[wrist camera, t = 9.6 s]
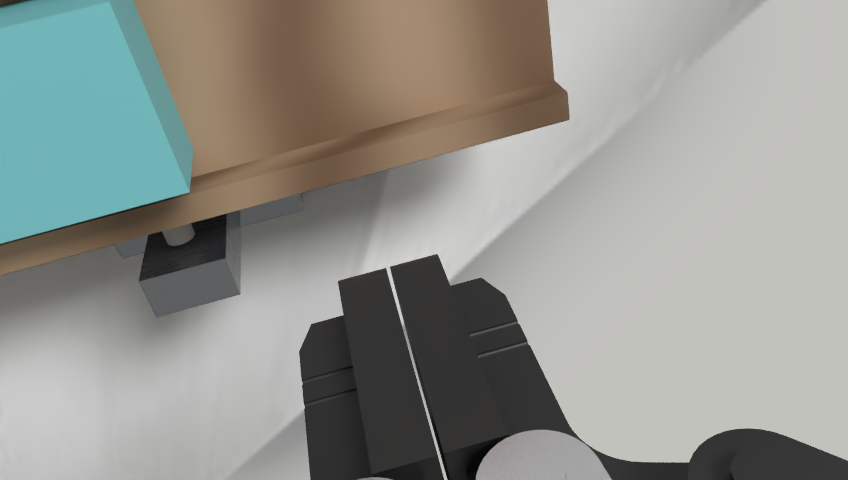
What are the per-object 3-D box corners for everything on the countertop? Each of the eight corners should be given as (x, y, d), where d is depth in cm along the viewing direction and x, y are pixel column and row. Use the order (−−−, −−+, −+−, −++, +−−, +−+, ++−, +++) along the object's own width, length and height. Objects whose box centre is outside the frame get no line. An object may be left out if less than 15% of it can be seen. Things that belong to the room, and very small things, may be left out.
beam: (511, -246, 21) (541, -248, 19) (547, 128, 28) (572, 155, 26) (-532, -9, 19) (-621, 16, 17) (-219, 338, 25) (-257, 386, 24)
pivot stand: (145, -286, 23) (111, -308, 17) (301, 198, 33) (316, 296, 27) (-114, -231, 23) (-249, -232, 16) (125, 246, 33) (97, 357, 26)
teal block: (122, -26, 21) (108, 1, 18) (193, 149, 24) (190, 192, 22) (-131, 36, 20) (-180, 73, 18) (-25, 207, 23) (-55, 258, 21)
